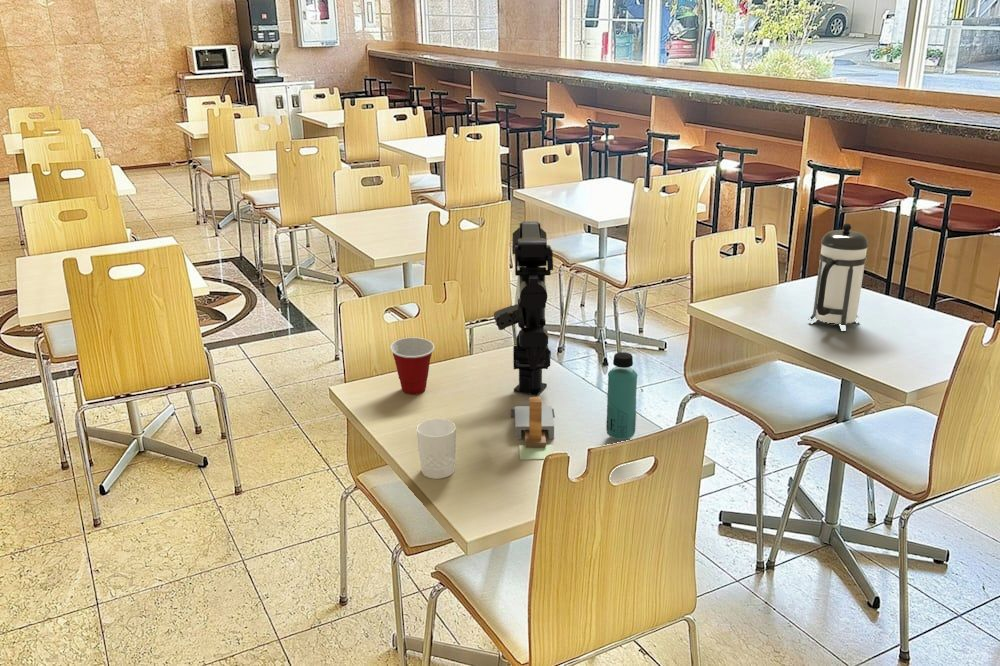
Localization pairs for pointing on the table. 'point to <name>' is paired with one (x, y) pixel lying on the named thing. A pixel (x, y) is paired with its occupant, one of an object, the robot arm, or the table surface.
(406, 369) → the plastic cup
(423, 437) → the white cup
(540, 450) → the pad
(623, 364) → the beverage bottle
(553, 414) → the pit
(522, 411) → the tunnel
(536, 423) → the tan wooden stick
